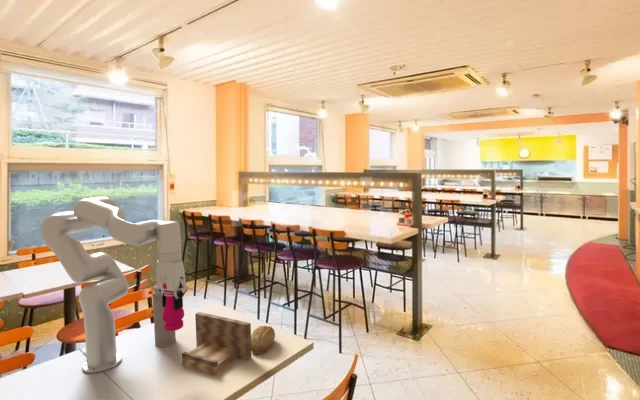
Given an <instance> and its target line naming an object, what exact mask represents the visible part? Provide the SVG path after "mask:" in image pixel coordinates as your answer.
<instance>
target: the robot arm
mask: <svg viewBox="0 0 640 400" xmlns="http://www.w3.org/2000/svg"><path fill="white" fill-rule="evenodd" d="M125 216H126V215H125V212H124V210H123V209H122V208H120V207H118V206H117V204H116V202H115V201H114V200H113V199H112V198H111V197H108V196H97V197H87V198H82V199H80V200H77V202H75V204H74V205H73V209H72V210H71V211H70V210H68V211H61V212H55V213H53V214H50V215H48V216H46V217H45V218H44V219H43V220H42V222H41V226H40V235H41V238H42V240H43V242H44V243H45V245H46V246H47V247H48V248H49V249H50V250H51V252H52V253H54V255H55V256H56V258H57V259H58V260H59V263H60V264H61V265H62V267H63V268H64V270H65V272H66V274H67V275H68V276H69V278H70V279H71V281H72V282H74V283H75V284H78V285H79V284H85V283H88V282H90V281H93V280H96V279H99V280H97V281H93V282H92V283H89V284H87V285H86V286H84V287H83V288H82V289H81V290H80V292H79V294H78V302H79V306H80V307H81V311H82V316H83V326H84V339H85V340H84V341H85V352H83V356H85V359H86V360H85V361H84V362H83V364H82V366H81V368H82V371H83V372H85V373H88V374H96V373H97V374H98V373H101V372H105V371H108V370H111V369H113V368H114V367H116V366H117V365H120V363H121V361H122V355H121V354H120V353H118V352H117V341H116V340H117V339H116V338H117V337H116V325H115V314H114V312H113V311H112V309H111V308H110V306H109V305H110V304H112V303H113V302H116V301H117V300H120V299H122V298H123V297H124V296H126V295H127V293H128V292H129V287H130V286H129V282H128V281H127V278H126V276H125V275H124V273H123V272H122V270H121V269H120V267H119V266H118V264H117V263H116V260H114V258H113V257H112V256H111V255H110V254H108V253H106V252H99V251H98V252H95V253H92V254H90V253H88V252H87V250H86V249H85V247H84V246H83V244H81V242H80V241H78V240H76V239H75V238H73V237H71V236H70V235H72V234H73V235H74V234H78V233H83V232H87V231H90V230H92V229H95V228H97V227H100V228H102V229H105V230H107V232H108V234H109V236H111V238H112V239H113V240H115V241H118V242H121V243H123V244H126V245H130V246H134V247H136V246H142V245H145V244H148V243H152V242H156V245H157V246H156V247H157V260H156V266H155V285H156V287H157V288H158V289H159V291H160V292H161V296H162V304H163V307H165V304H166V296H165V295H164V294H165V293H164V291H165V290H167V291H174V295H175V299H174V309H175V310H178V309H180V308H183V307H184V302H183V298H184V296H185V294H186V292H188V291H189V287H188V286H187V284H186V272H185V267H184V262H183V260H182V244H181V243H182V242H181V227H180V223H179V222H178V221H176V220H160V219H149V220H145V221H139V222H136V223H135V222H130V221H126V220H125ZM163 283H165V284H166V285H167V289H164V288H163ZM178 290H179V293H178V292H177V291H178Z"/></svg>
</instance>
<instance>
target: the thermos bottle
mask: <svg viewBox="0 0 640 400" xmlns="http://www.w3.org/2000/svg"><path fill="white" fill-rule="evenodd" d="M164 308H165V307H163V304H162V296H161V292H160V291H159V289H158V288H157V287H156V284H155V285H154V286H153V291H152V310H153V324H154V331H153V332H154V345H155V346H156V347H161V348H162V347H163V348H164V347H168V346H171V345H173V344H174V343H175V342H176V340H177V339H176V330H175V331H166V330H165V329H164V324H165V322H164V321H163V319H162V314H163V310H164Z"/></svg>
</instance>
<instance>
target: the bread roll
mask: <svg viewBox="0 0 640 400" xmlns="http://www.w3.org/2000/svg"><path fill="white" fill-rule="evenodd" d="M275 339H276V333H275V330H274V328H273V327H272V326H271V325H270V326H268V325H260V326H258V327H256V328H255V329H253V331H252V332H251V353H253V354H256V355H260V354H262V353H265V352H267V350H268V349H269V348H270V347H271V345H272V344H273V342H274V340H275Z"/></svg>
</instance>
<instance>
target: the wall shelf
mask: <svg viewBox="0 0 640 400" xmlns="http://www.w3.org/2000/svg"><path fill="white" fill-rule="evenodd" d="M194 316H195V334H196V335H195V338H196V339H195V340H196V348H194V349H192V350H191V351H189V352H187V351H183V352H181V364H182V366H185V367H188V368H192V369H195V370H198V371H201V372H205V373H209V374H211V375H214V376H215V375H218V374H219V373H220V372H221V371H222V370H224V369H226V368H227V367H228V366H229V365H230V364H232V363H233V362H234V361H237V359H241V360H245V361H247V362H248V361H250V360H251V359H252V351H251V335H252V329H251V328H252V327H251V326H252V325H251V322H247V321H243V320H242V321H241V320H237V319H234V318H228V317H224V316H220V315H215V314H210V313H206V312H200V311H198V312H196V313H195V315H194Z"/></svg>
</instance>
